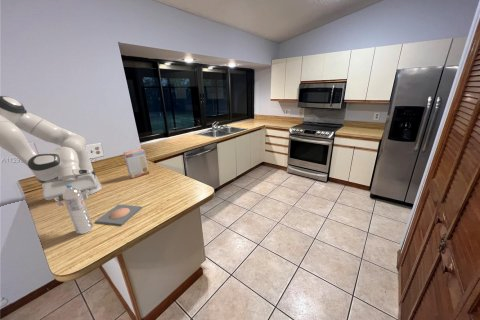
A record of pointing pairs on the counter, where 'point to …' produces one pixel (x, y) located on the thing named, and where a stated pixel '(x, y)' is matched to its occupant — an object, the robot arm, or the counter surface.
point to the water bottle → (77, 210)
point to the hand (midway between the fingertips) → (73, 202)
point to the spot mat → (119, 214)
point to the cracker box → (136, 163)
